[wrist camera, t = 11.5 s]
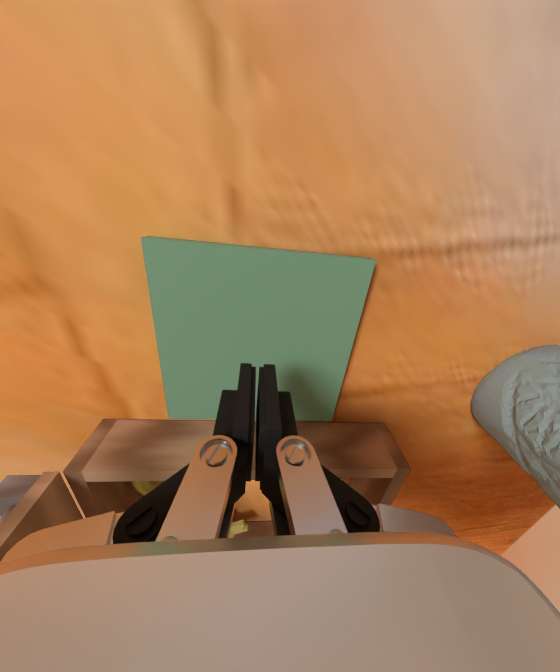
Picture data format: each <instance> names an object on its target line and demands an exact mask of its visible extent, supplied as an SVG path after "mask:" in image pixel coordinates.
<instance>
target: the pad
mask: <svg viewBox="0 0 560 672" xmlns="http://www.w3.org/2000/svg"><path fill="white" fill-rule="evenodd" d="M141 241H142V248H143V254H144V261H145V267H146V274H147V280H148V287H149V293H150V300H151V306H152V313H153V319H154V326H155V332H156V339H157V345H158V352H159V359H160V365H161V372H162V378H163V385H164V391H165V398H166V404H167V411H168V417H169V419H216V417H217V412H218V408H219V403H220V398H221V393H222V390H237V389H238V381H239V373H240V365H241V363H251V364H252V367H256V393H255V420H256V406H257V393H258V379H259V367H264V364H275V369H276V378H277V388H278V391H288V392H290V394H291V399H292V404H293V410H294V416H295V421H332V418H333V415H334V411H335V408H336V404H337V400H338V397H339V393H340V390H341V386H342V382H343V379H344V375H345V372H346V368H347V364H348V361H349V357H350V353H351V350H352V346H353V343H354V339H355V335H356V332H357V328H358V325H359V321H360V317H361V314H362V310H363V307H364V303H365V299H366V296H367V292H368V289H369V285H370V281H371V278H372V274H373V270H374V267H375V263H376V260H374V259H372V258H366V257H356V256H346V255H335V254H325V253H315V252H305V251H295V250H285V249H275V248H264V247H254V246H244V245H234V244H224V243H214V242H203V241H193V240H183V239H173V238H163V237H153V236H146V237H141Z"/></svg>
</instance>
